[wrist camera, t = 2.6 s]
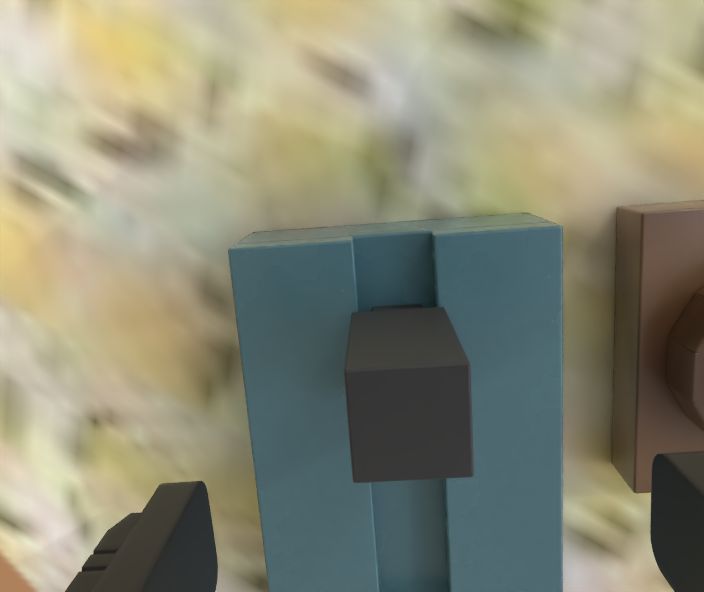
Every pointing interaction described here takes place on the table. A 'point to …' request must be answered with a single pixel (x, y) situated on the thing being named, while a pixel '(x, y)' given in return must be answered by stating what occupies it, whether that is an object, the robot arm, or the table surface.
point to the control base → (331, 410)
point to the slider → (407, 396)
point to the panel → (658, 336)
